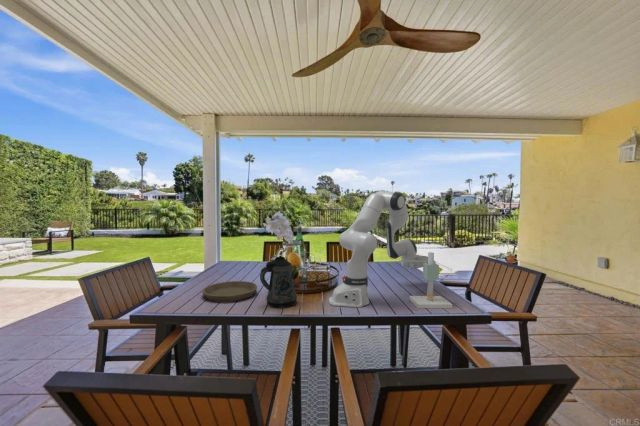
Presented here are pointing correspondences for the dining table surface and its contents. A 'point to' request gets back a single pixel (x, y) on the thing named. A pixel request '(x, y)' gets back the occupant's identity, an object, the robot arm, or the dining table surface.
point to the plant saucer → (229, 291)
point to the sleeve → (431, 271)
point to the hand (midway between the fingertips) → (422, 265)
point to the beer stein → (279, 283)
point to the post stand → (430, 294)
